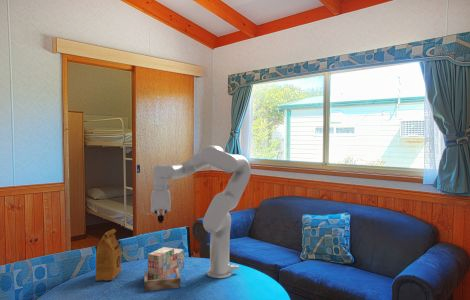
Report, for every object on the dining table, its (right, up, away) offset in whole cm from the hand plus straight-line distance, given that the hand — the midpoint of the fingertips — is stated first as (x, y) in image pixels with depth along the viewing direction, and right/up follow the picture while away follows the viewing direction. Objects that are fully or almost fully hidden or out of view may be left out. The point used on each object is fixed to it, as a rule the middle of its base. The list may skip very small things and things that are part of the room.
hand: (160, 222), depth 177 cm
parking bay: (+6, -22, -25) cm, 34 cm away
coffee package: (-21, -22, -18) cm, 35 cm away
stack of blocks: (+6, -23, -12) cm, 26 cm away
